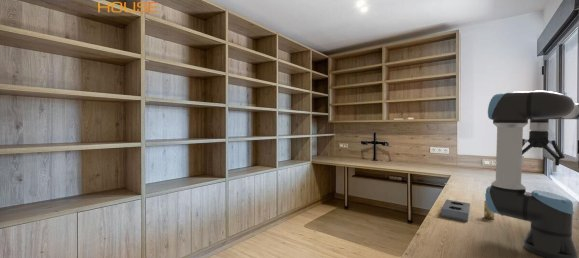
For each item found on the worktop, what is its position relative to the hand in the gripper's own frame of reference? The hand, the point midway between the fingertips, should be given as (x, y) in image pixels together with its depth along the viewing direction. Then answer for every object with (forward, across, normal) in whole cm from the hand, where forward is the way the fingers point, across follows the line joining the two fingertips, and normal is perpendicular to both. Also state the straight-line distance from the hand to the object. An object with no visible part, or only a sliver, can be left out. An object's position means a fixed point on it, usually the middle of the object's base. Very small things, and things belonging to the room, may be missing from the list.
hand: (537, 169), depth 142 cm
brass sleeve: (+27, +12, +24) cm, 38 cm away
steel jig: (+27, +24, +33) cm, 49 cm away
